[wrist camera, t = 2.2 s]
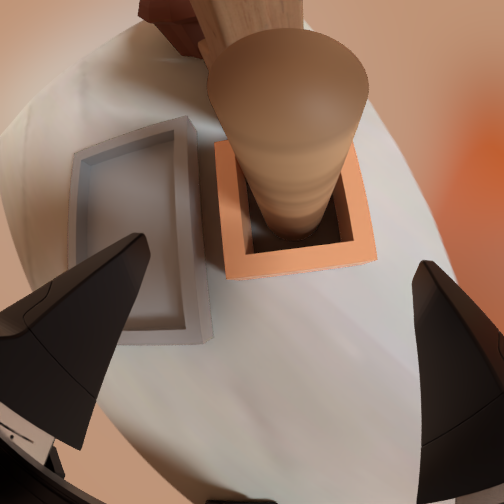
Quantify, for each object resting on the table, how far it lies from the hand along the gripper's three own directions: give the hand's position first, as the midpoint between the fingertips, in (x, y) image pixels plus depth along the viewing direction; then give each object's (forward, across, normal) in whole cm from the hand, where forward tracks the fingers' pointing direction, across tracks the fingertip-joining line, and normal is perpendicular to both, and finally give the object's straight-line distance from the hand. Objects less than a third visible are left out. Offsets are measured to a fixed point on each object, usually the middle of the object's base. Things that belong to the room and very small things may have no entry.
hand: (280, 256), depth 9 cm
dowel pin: (+10, 0, +5) cm, 12 cm away
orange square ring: (+10, 0, +5) cm, 12 cm away
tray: (+9, +12, +7) cm, 16 cm away
